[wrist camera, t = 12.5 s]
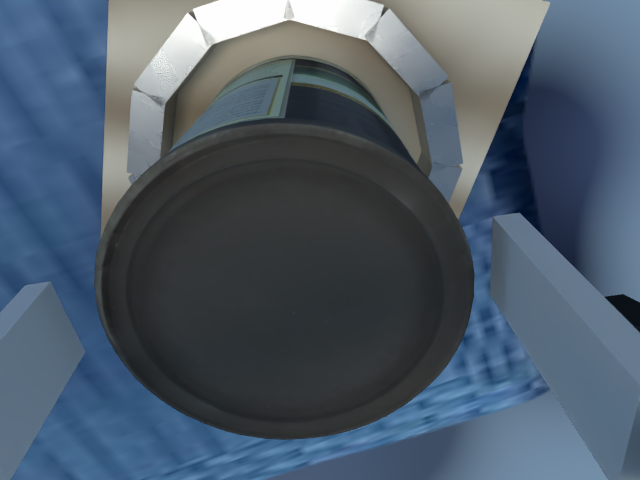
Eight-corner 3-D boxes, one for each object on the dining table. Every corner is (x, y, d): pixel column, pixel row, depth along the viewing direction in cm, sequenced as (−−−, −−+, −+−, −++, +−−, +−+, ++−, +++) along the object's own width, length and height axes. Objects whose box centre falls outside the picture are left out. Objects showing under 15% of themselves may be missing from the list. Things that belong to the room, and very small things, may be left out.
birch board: (408, 321, 32) (411, 330, 31) (105, 264, 29) (99, 273, 28) (541, 2, 23) (550, 2, 22) (121, -123, 20) (113, -128, 19)
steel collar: (392, 300, 30) (398, 325, 28) (135, 251, 28) (120, 274, 26) (494, 36, 23) (514, 41, 21) (158, -58, 21) (140, -64, 18)
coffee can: (399, 53, 23) (511, 125, 11) (383, 239, 28) (448, 439, 15) (187, 51, 23) (45, 123, 10) (208, 239, 28) (129, 445, 15)
